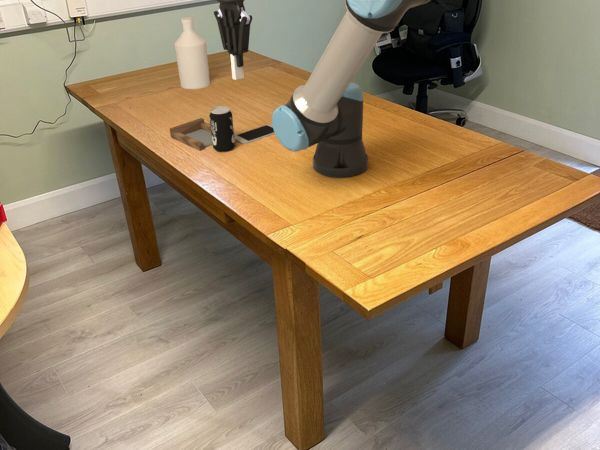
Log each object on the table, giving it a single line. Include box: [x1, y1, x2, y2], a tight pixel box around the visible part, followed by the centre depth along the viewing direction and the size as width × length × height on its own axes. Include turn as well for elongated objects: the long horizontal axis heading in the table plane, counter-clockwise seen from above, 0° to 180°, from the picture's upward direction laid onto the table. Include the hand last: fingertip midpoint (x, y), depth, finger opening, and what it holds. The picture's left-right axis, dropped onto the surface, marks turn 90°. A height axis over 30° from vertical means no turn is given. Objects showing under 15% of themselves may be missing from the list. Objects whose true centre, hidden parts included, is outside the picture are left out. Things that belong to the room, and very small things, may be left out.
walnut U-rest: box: [169, 117, 211, 151], centre depth 181 cm, size 16×12×3 cm
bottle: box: [173, 16, 211, 90], centre depth 223 cm, size 12×12×25 cm
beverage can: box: [209, 106, 236, 153], centre depth 171 cm, size 7×7×12 cm
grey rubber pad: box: [186, 129, 213, 149], centre depth 181 cm, size 12×8×1 cm
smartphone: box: [234, 123, 275, 145], centre depth 183 cm, size 7×15×1 cm, turn 130°
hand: (238, 78), depth 156 cm, fingers closed
